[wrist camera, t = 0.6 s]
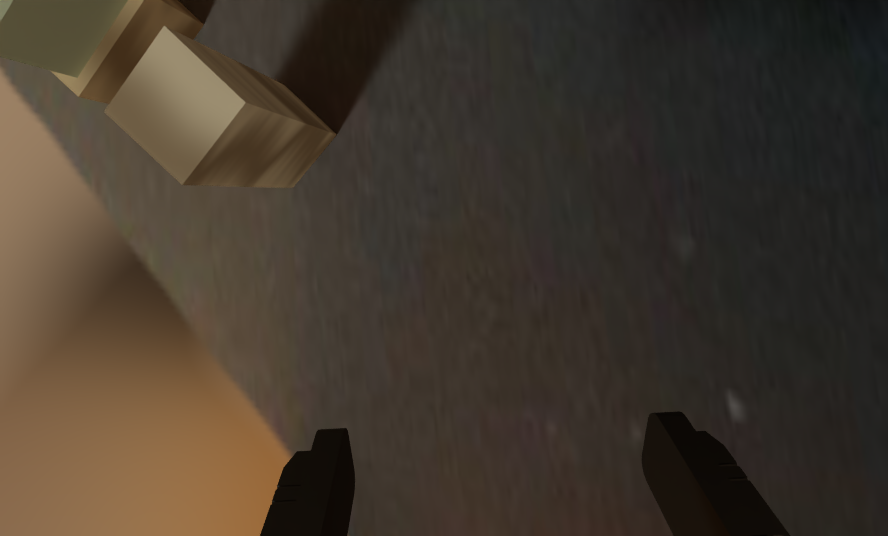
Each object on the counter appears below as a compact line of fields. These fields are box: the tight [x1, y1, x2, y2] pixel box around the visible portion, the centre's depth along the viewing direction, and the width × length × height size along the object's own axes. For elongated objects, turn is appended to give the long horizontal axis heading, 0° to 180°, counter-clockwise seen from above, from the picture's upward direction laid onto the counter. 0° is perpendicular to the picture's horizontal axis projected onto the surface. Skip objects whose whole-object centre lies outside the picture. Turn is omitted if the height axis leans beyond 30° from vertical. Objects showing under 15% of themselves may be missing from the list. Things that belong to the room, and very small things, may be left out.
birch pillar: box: [104, 26, 337, 188], centre depth 26 cm, size 4×4×11 cm
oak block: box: [51, 0, 204, 104], centre depth 29 cm, size 7×7×5 cm
